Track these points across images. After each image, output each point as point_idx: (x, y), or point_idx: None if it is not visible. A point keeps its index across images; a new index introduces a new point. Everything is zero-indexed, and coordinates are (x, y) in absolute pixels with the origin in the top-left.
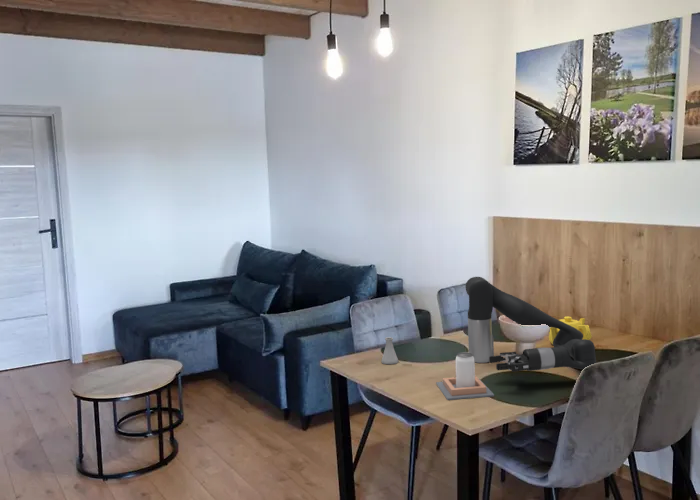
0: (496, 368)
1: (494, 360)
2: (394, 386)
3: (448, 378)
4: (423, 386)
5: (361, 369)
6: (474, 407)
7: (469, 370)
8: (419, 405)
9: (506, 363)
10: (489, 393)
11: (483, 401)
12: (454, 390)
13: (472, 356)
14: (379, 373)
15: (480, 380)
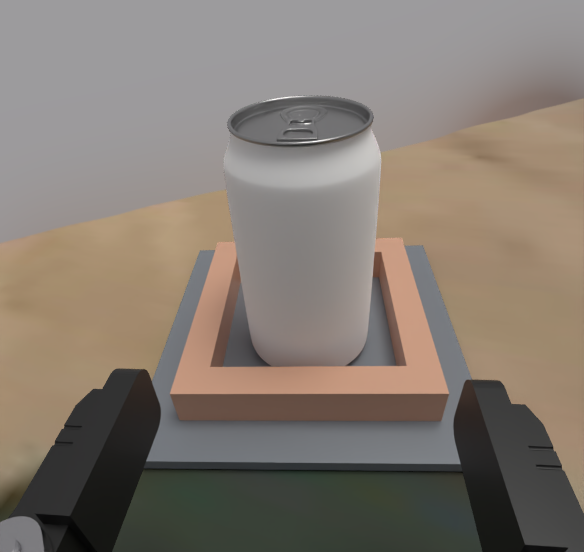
0: (154, 402)
1: (476, 474)
2: (399, 165)
3: (396, 255)
4: (390, 218)
5: (578, 124)
6: (55, 324)
7: (233, 230)
8: (198, 195)
9: (44, 497)
10: (157, 435)
11: (93, 380)
12: (215, 253)
13: (255, 148)
14: (543, 147)
15: (455, 459)
